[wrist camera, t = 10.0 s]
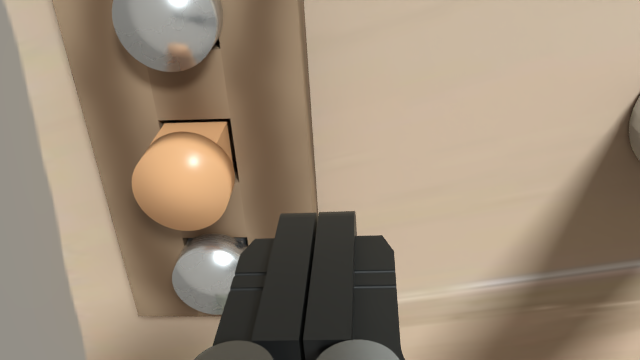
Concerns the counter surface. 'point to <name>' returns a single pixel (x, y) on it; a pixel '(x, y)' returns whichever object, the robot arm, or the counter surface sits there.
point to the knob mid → (186, 175)
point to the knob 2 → (207, 271)
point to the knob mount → (190, 107)
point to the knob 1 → (168, 31)
